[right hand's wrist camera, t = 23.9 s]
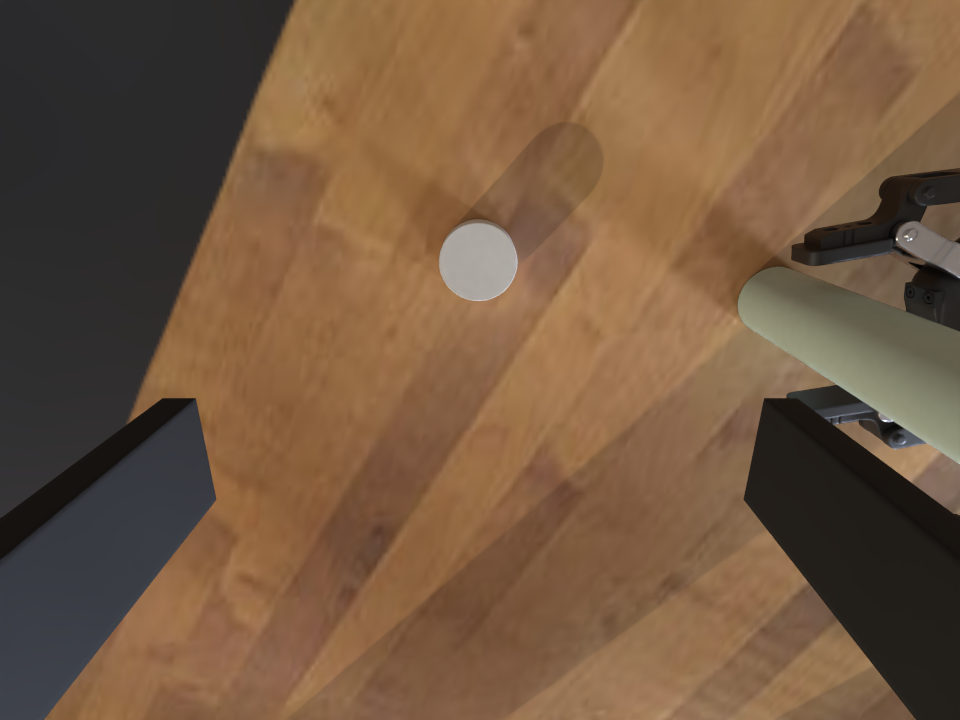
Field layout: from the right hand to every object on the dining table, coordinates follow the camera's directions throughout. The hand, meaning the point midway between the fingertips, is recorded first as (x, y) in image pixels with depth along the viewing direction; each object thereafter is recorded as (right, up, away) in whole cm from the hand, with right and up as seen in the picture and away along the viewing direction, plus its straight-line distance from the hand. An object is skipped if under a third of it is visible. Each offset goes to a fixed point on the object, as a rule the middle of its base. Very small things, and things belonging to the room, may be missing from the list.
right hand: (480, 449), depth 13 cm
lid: (0, +8, +19) cm, 20 cm away
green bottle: (+18, +6, +21) cm, 29 cm away
